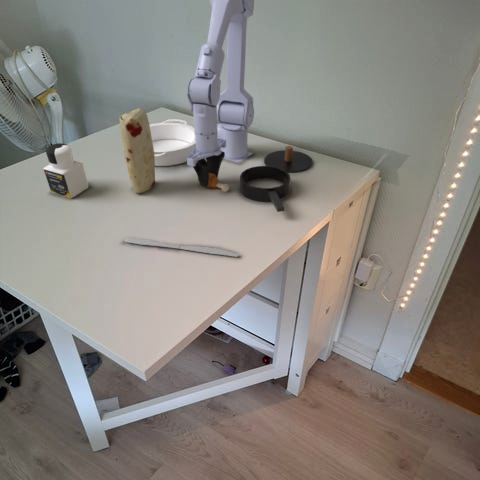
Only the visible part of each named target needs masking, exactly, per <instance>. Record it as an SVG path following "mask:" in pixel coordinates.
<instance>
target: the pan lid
mask: <svg viewBox="0 0 480 480" xmlns="http://www.w3.org/2000/svg"><path fill="white" fill-rule="evenodd" d="M263 163H264V166H272V167H277V168H281V169H283V170H285V171H286V172H287V173H288V174H293V173H294V174H295V173H300V172H304V171H307V170H309V169H310V168H311V167H312V165H313V159H312V157H311V156H310V155H308V154H306V153H304V152H301V151H298V150H294V146H292V145H287V146H285V148H284V149H283V150H275V151H272V152H270V153H268V154H266V155H265V156H264V159H263Z"/></svg>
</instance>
